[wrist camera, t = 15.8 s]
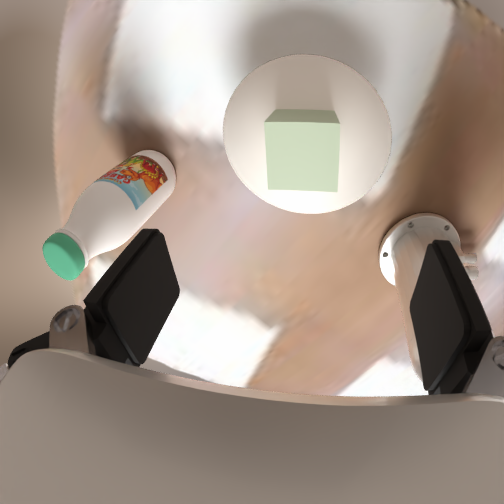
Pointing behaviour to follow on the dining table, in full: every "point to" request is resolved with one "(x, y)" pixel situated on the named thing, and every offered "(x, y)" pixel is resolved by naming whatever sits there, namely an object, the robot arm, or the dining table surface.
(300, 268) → the dining table surface
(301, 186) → the block
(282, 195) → the cake stand
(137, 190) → the milk bottle
